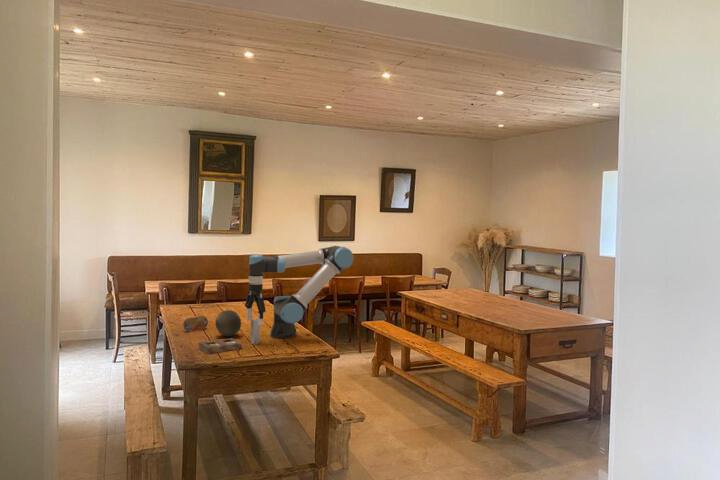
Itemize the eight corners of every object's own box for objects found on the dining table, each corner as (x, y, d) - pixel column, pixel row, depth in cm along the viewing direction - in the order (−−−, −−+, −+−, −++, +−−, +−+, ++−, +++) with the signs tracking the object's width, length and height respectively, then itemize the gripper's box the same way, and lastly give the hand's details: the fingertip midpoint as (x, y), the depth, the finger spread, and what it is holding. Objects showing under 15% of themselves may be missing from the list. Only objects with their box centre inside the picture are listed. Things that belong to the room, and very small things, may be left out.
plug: (256, 342, 286) (256, 318, 286) (259, 343, 284) (259, 319, 283) (250, 343, 284) (251, 319, 284) (253, 344, 281) (253, 320, 281)
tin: (185, 332, 305) (185, 318, 304) (182, 331, 307) (182, 317, 307) (208, 329, 316) (208, 315, 315) (205, 328, 318) (205, 314, 318)
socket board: (231, 343, 282) (231, 337, 282) (241, 348, 272) (241, 342, 271) (198, 348, 271) (198, 341, 271) (208, 353, 261) (208, 347, 261)
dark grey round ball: (218, 333, 304) (218, 308, 304) (242, 333, 305) (243, 308, 304) (212, 339, 290) (213, 312, 289) (238, 339, 291) (238, 313, 290)
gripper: (239, 281, 290) (238, 319, 291) (259, 286, 270) (258, 327, 271) (251, 280, 294) (250, 317, 295) (272, 286, 275) (271, 326, 276)
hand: (254, 322), depth 283 cm, fingers open, 13 cm apart
